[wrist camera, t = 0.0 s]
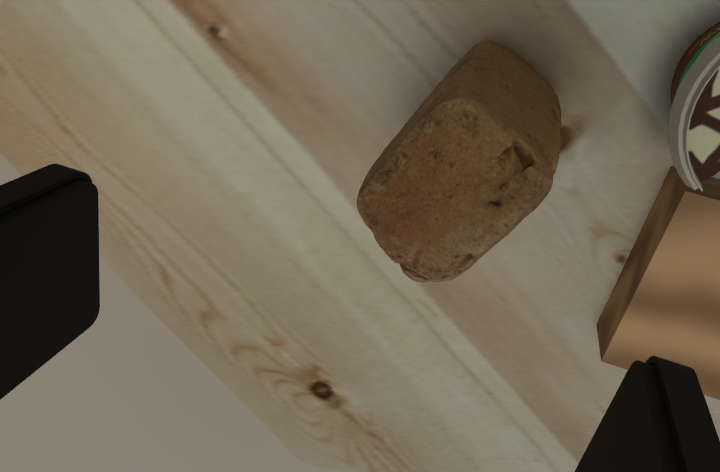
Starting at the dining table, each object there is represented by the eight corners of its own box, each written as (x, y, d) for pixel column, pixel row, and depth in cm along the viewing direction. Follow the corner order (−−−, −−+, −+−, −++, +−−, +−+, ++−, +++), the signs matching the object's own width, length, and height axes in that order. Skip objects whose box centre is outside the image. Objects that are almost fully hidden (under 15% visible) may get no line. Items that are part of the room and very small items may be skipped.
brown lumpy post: (495, 21, 42) (455, 69, 24) (571, 96, 42) (585, 195, 25) (393, 130, 47) (300, 234, 29) (462, 196, 47) (411, 336, 30)
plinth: (671, 166, 42) (685, 191, 38) (822, 207, 41) (855, 238, 36) (596, 324, 49) (601, 361, 44) (724, 365, 47) (742, 407, 43)
